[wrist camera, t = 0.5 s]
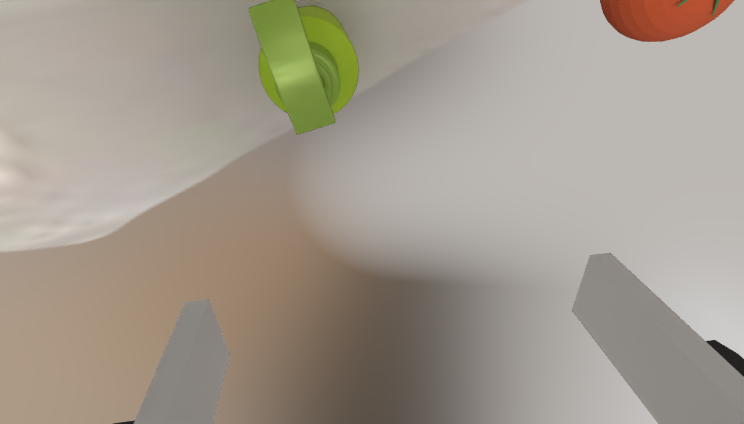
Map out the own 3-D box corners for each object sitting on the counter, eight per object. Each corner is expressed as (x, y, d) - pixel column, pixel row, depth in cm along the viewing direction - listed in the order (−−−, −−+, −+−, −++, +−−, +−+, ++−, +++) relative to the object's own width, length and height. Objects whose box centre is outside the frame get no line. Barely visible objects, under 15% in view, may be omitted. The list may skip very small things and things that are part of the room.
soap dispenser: (330, -18, 31) (341, -23, 14) (354, 66, 35) (385, 142, 18) (263, 4, 31) (196, 24, 14) (294, 85, 35) (269, 178, 18)
